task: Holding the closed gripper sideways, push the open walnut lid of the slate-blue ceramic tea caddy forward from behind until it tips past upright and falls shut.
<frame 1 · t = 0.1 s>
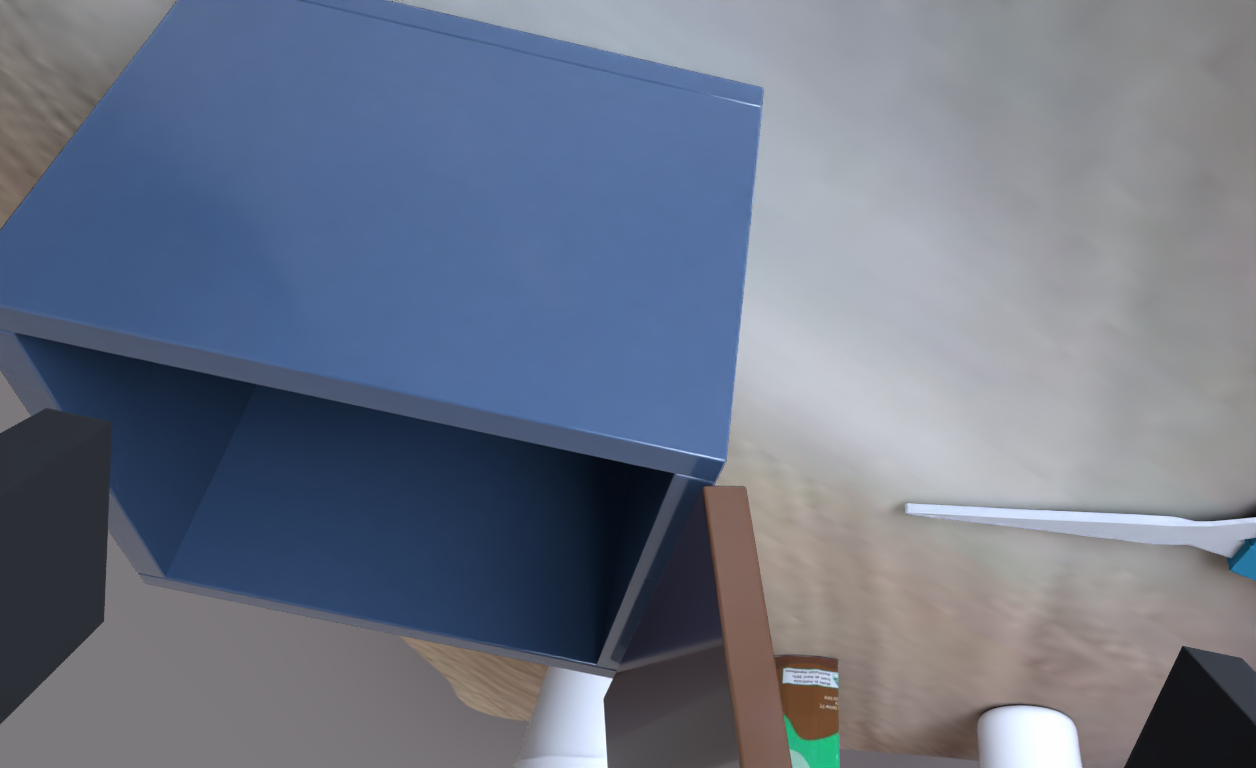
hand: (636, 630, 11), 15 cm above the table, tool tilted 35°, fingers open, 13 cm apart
food container: (764, 673, 55), on the table
foam cup: (656, 550, 44), on the table
caddy: (482, 210, 27), on the table
scissors: (1179, 518, 35), on the table
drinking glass: (1024, 714, 54), on the table
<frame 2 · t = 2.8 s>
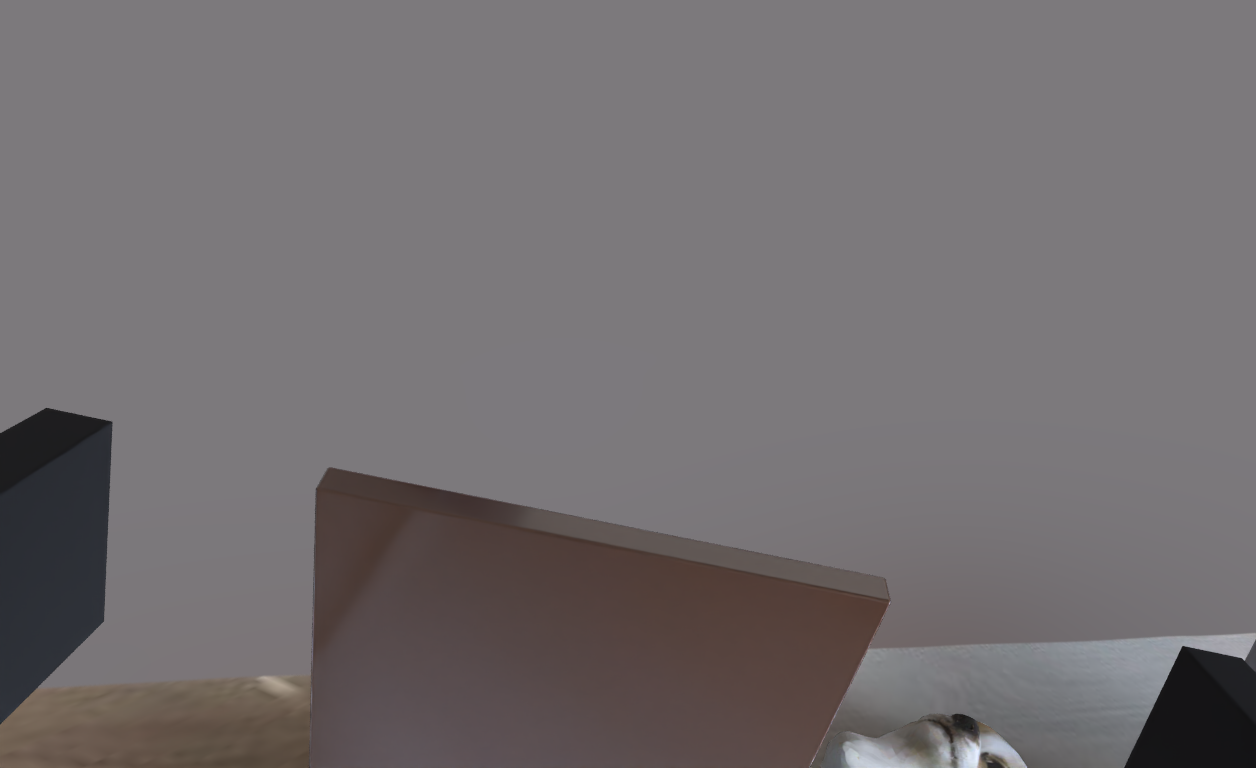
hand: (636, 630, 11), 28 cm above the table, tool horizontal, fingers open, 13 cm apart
caddy lid: (557, 740, 24), point 18 cm above the table, hinge at 103.0°
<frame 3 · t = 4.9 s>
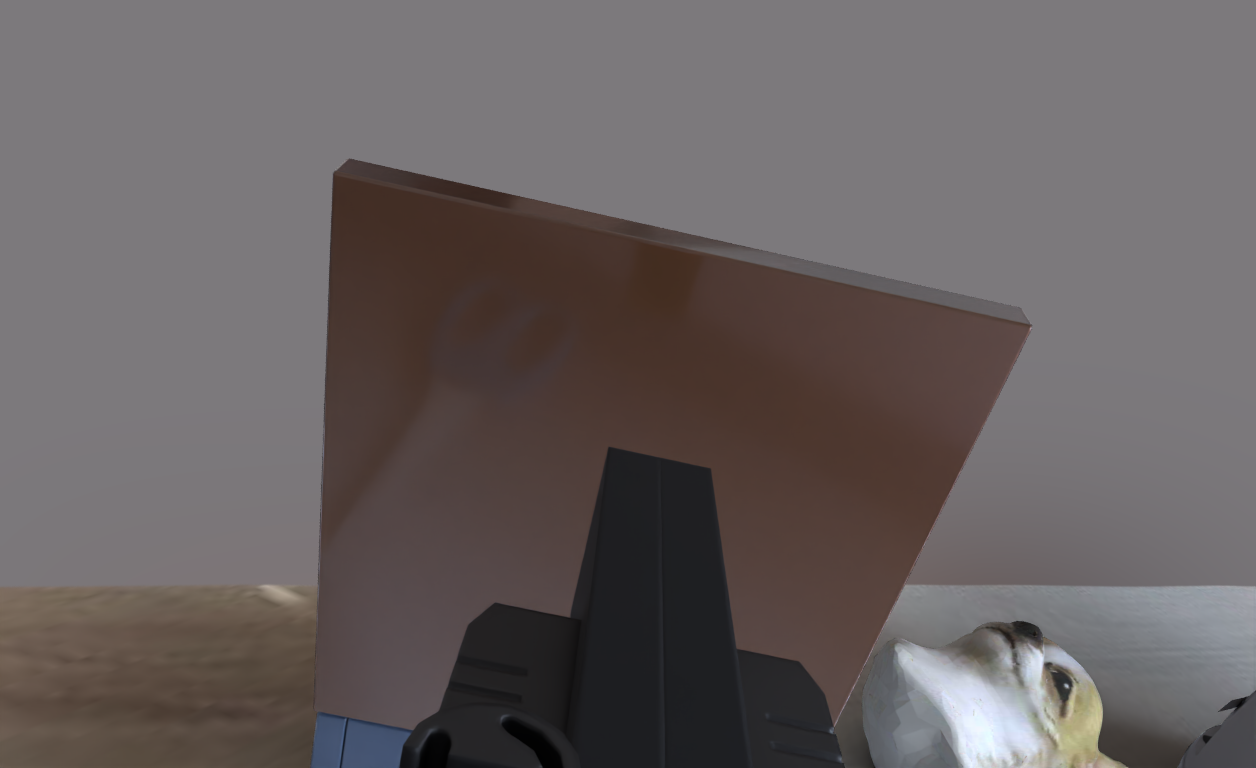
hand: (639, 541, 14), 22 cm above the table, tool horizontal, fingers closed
caddy lid: (612, 540, 20), point 18 cm above the table, hinge at 103.0°
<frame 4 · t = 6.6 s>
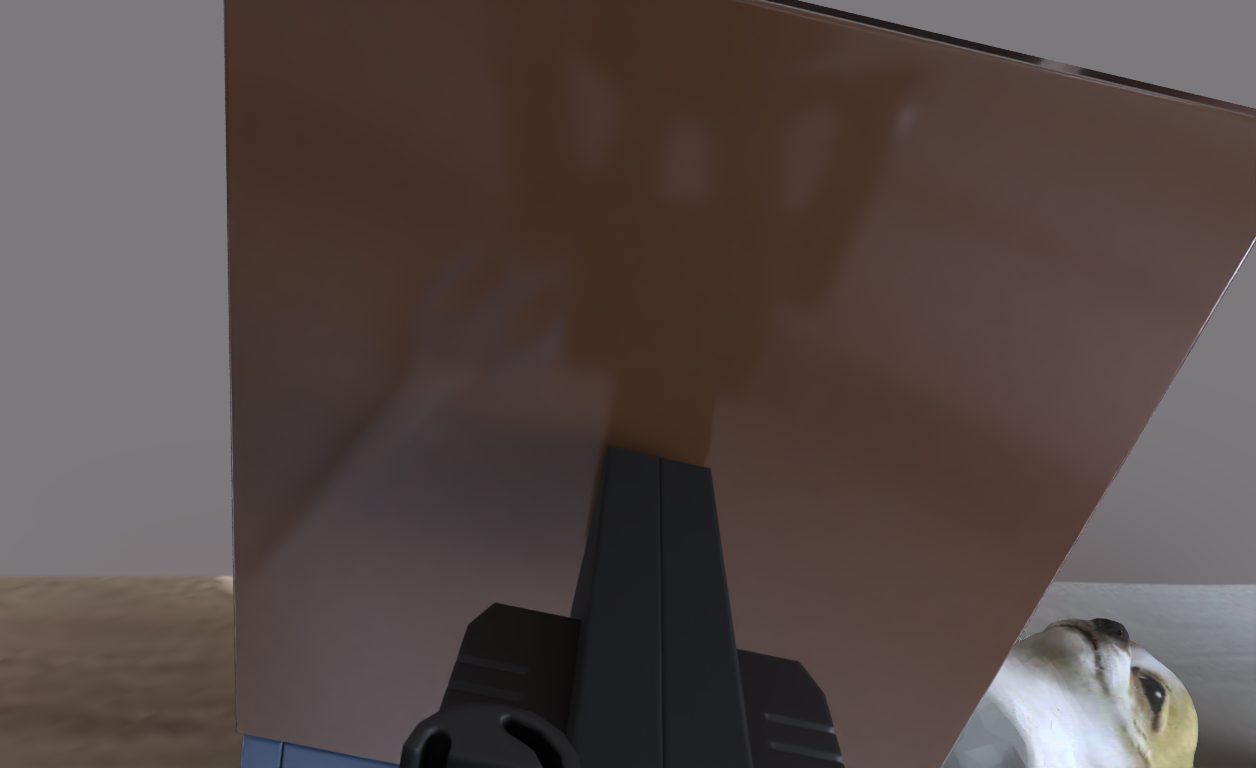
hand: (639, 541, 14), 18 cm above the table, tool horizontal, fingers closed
caddy lid: (647, 490, 14), point 18 cm above the table, hinge at 102.2°, touching gripper
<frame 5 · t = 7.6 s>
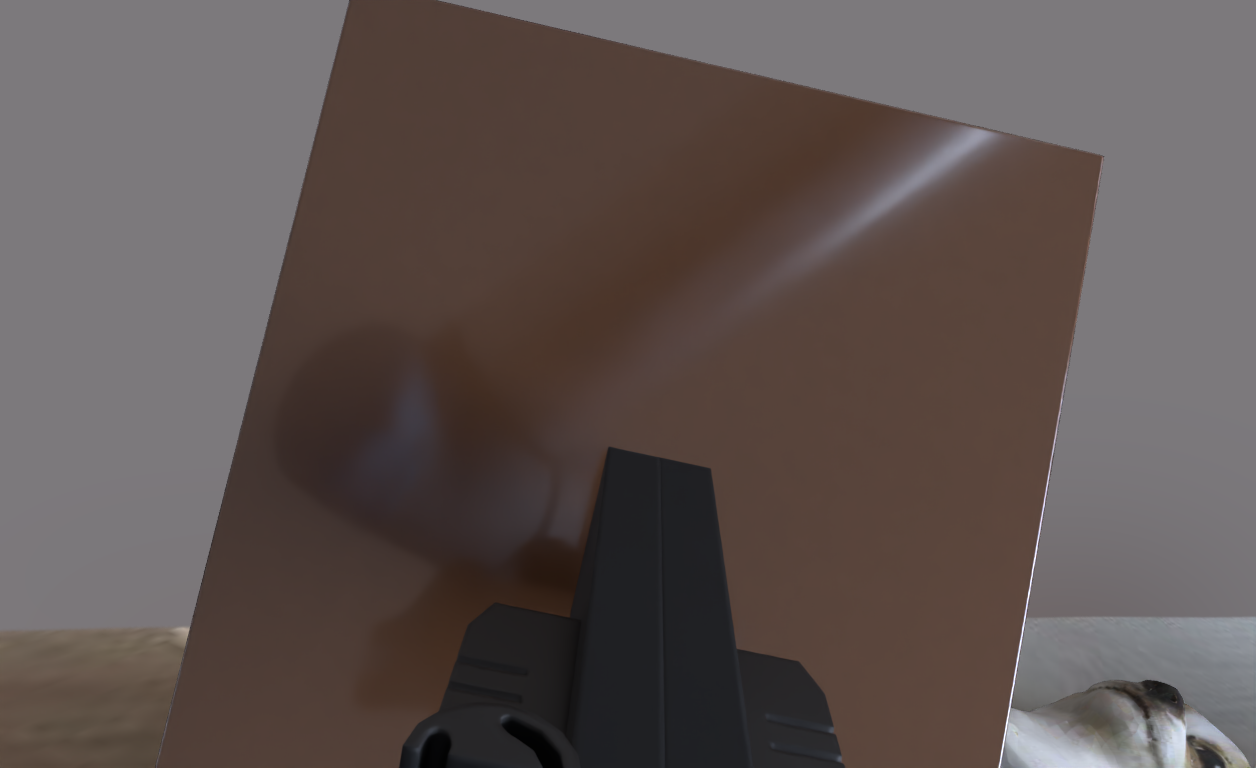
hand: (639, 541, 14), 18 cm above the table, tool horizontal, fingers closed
caddy lid: (642, 503, 15), point 18 cm above the table, hinge at 66.2°, touching gripper
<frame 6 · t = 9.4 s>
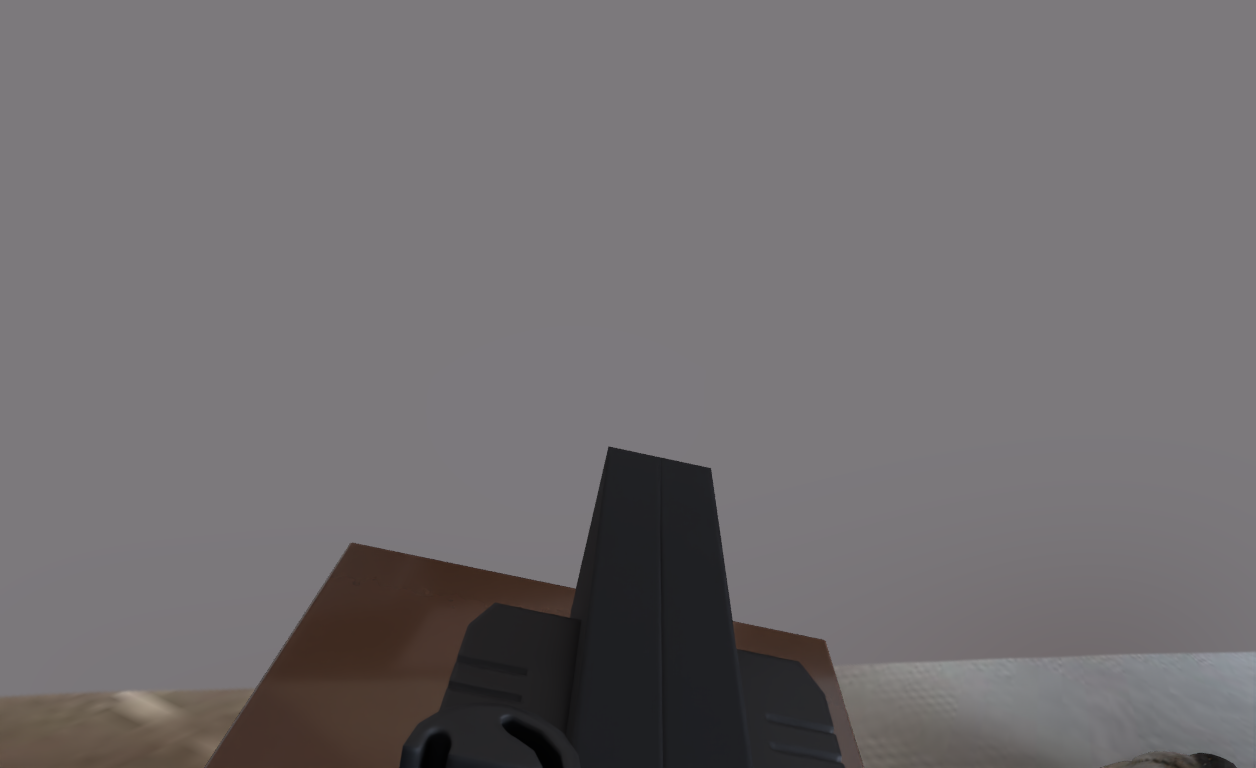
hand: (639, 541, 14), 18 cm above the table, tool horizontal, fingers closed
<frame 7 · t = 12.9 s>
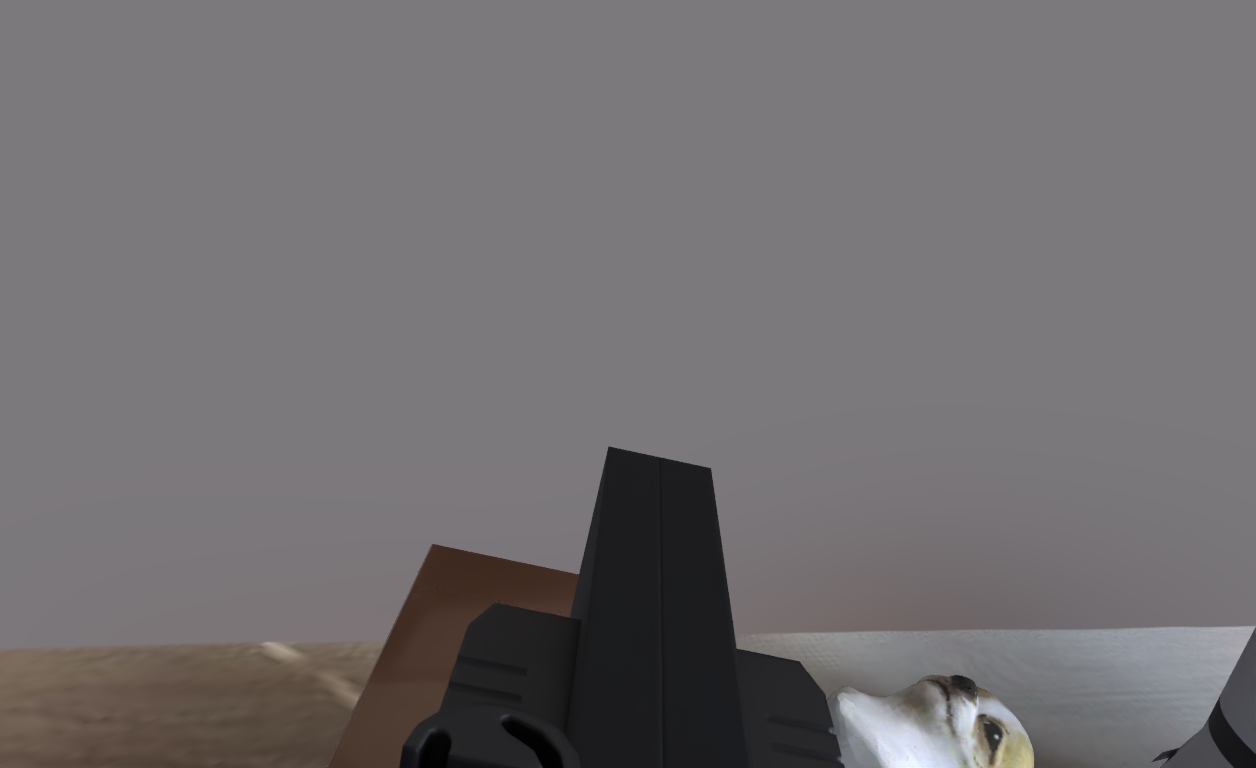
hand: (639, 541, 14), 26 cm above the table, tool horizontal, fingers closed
caddy lid: (554, 679, 35), point 11 cm above the table, hinge at -0.2°
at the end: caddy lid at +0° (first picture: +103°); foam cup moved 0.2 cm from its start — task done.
